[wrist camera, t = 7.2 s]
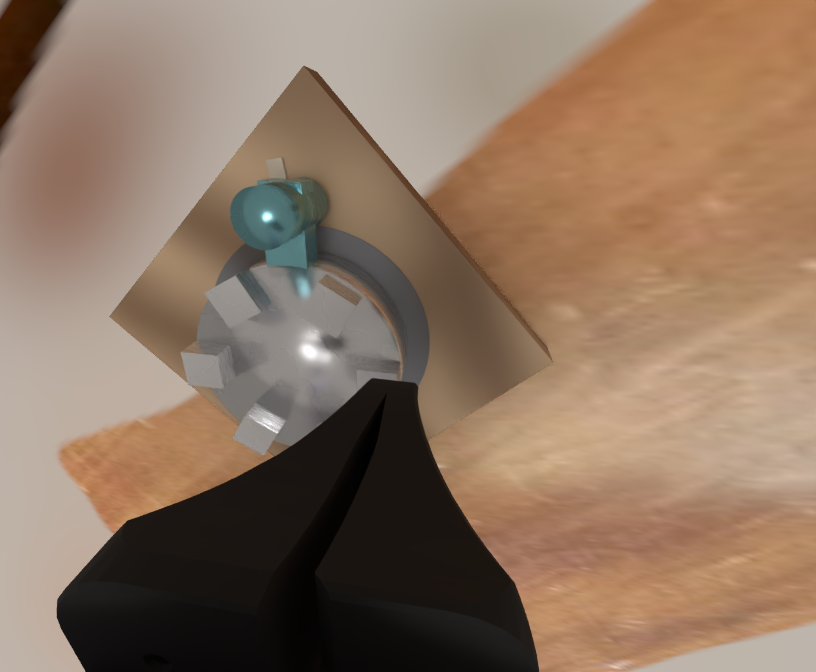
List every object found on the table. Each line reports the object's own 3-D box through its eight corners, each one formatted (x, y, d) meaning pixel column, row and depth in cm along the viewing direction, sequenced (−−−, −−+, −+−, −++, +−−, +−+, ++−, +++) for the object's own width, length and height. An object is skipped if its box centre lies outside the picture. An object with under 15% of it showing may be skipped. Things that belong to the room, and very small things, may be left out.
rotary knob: (404, 427, 21) (391, 487, 17) (240, 408, 22) (195, 462, 18) (414, 182, 16) (398, 194, 12) (198, 171, 17) (122, 178, 13)
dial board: (335, 483, 26) (327, 504, 25) (130, 306, 22) (106, 318, 21) (547, 347, 20) (554, 364, 19) (317, 71, 16) (301, 64, 15)
